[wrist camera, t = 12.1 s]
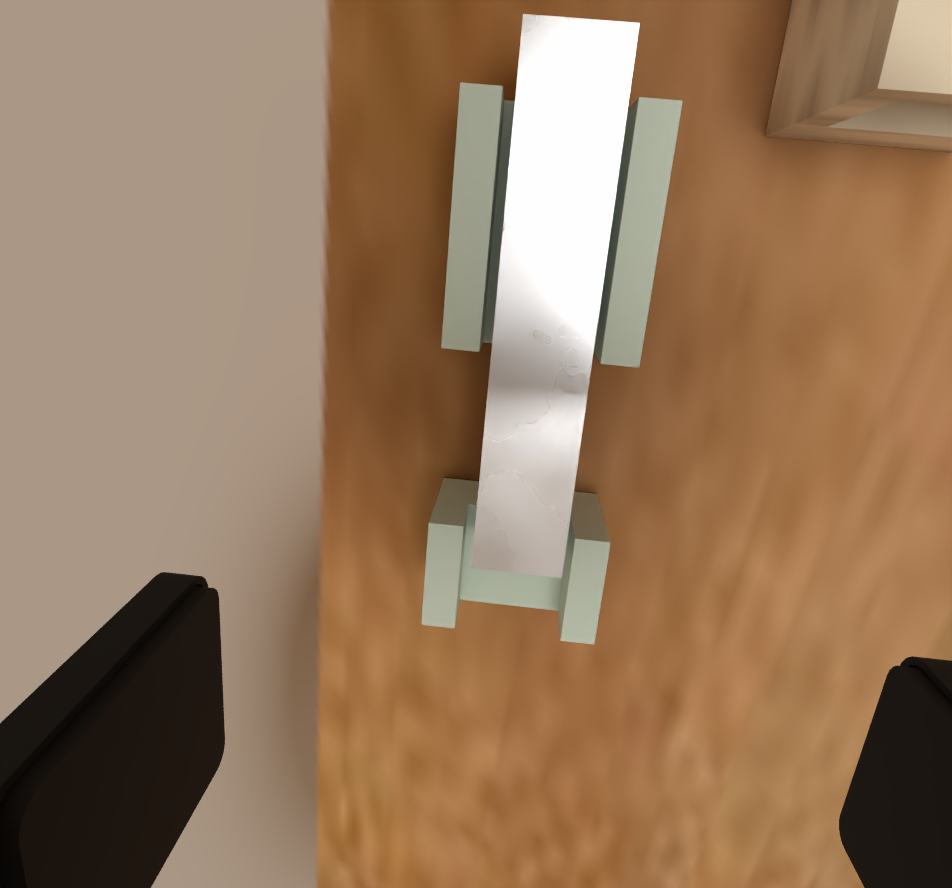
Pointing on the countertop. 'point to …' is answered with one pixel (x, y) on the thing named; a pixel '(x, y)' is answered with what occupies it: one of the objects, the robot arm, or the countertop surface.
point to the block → (866, 74)
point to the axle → (550, 284)
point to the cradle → (472, 324)
